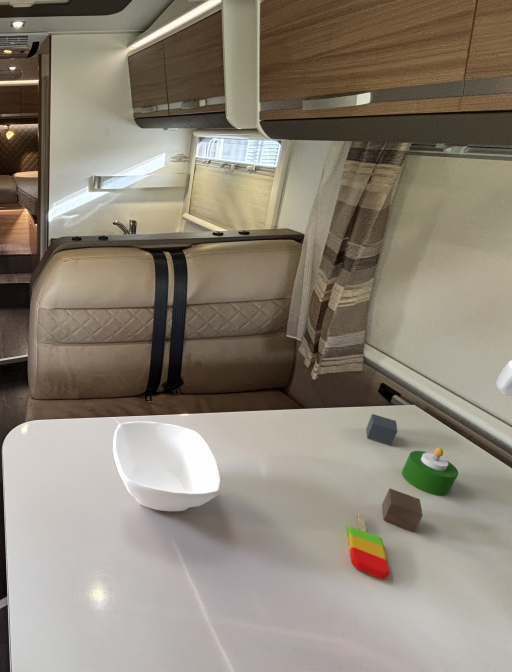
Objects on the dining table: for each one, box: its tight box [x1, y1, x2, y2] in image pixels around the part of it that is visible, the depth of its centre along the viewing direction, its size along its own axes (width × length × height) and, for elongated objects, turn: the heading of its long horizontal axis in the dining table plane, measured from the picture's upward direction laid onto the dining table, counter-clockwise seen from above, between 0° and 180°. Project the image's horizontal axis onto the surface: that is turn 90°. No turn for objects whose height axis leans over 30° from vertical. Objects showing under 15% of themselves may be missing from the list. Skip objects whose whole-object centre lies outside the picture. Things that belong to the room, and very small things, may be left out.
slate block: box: [366, 413, 398, 447], centre depth 114 cm, size 5×5×5 cm
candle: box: [401, 447, 459, 497], centre depth 99 cm, size 8×8×10 cm
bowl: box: [112, 420, 222, 512], centre depth 97 cm, size 22×22×12 cm
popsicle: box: [346, 512, 390, 580], centre depth 86 cm, size 6×15×2 cm, turn 148°
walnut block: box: [381, 488, 424, 533], centre depth 91 cm, size 5×5×5 cm
